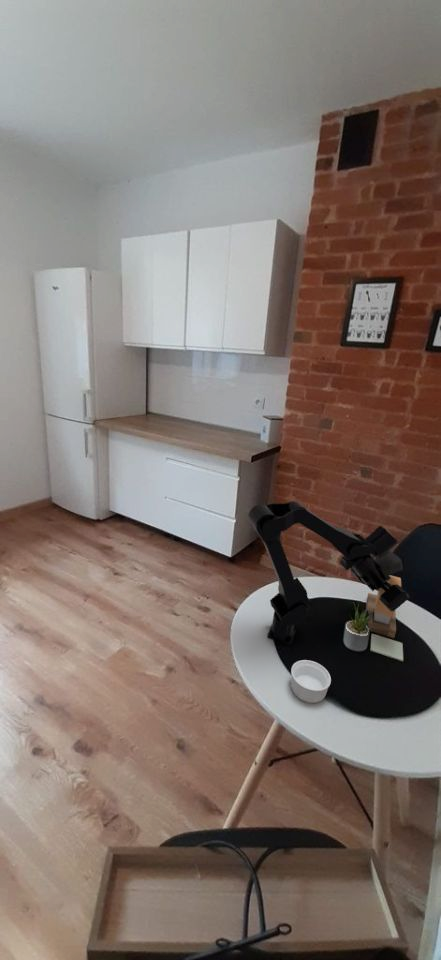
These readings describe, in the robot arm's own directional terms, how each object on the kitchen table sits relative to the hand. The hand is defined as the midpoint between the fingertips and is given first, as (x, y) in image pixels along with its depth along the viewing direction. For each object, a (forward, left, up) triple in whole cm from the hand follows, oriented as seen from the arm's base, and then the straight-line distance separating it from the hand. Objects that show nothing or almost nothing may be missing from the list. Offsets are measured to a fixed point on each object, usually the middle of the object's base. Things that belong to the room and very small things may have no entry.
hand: (390, 598), depth 111 cm
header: (+3, +1, -9) cm, 10 cm away
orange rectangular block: (-1, +1, -7) cm, 7 cm away
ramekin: (-34, +16, -9) cm, 39 cm away
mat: (-10, -1, -9) cm, 13 cm away
